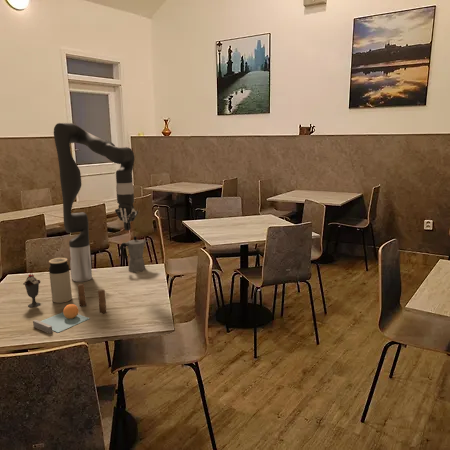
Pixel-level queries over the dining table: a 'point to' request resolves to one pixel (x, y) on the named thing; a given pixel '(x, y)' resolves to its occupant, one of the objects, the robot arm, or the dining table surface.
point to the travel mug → (60, 280)
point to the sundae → (32, 289)
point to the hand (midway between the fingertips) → (127, 230)
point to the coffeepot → (135, 254)
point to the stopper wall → (42, 326)
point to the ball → (70, 311)
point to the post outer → (102, 301)
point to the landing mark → (63, 322)
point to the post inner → (81, 295)
